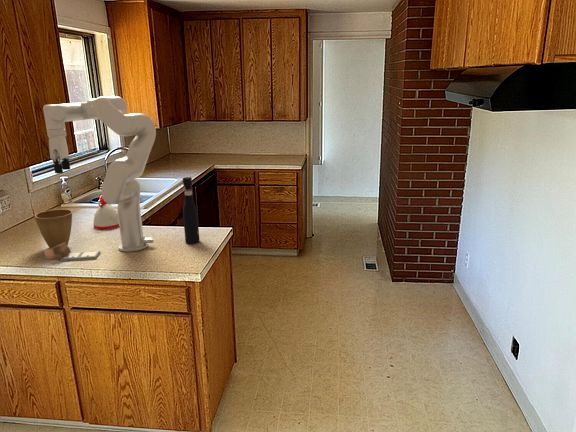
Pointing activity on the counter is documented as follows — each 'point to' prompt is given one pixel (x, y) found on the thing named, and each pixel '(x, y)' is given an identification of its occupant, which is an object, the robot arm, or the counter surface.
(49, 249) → the tan round lump
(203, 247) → the counter surface
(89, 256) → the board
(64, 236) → the plant pot
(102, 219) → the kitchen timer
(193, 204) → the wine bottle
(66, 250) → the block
